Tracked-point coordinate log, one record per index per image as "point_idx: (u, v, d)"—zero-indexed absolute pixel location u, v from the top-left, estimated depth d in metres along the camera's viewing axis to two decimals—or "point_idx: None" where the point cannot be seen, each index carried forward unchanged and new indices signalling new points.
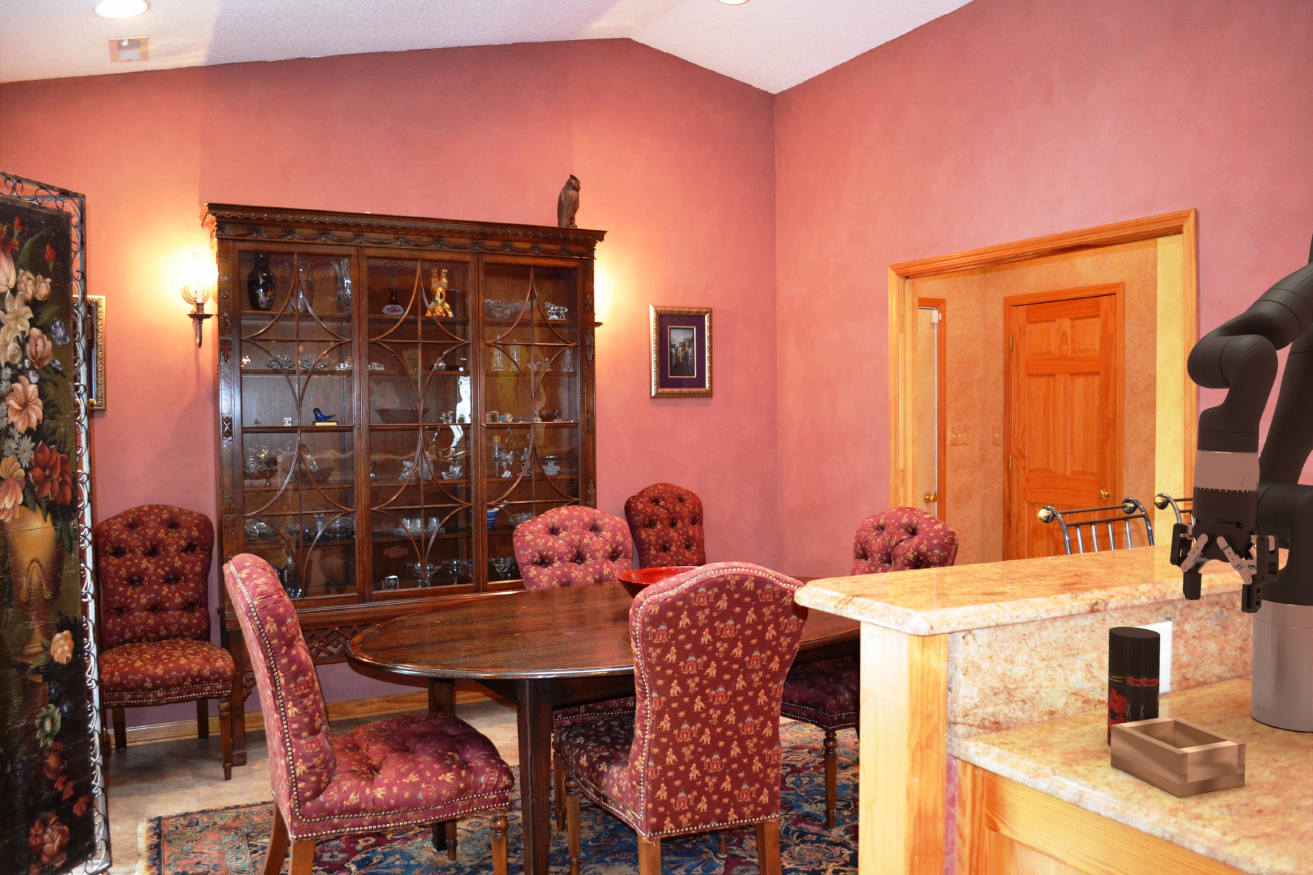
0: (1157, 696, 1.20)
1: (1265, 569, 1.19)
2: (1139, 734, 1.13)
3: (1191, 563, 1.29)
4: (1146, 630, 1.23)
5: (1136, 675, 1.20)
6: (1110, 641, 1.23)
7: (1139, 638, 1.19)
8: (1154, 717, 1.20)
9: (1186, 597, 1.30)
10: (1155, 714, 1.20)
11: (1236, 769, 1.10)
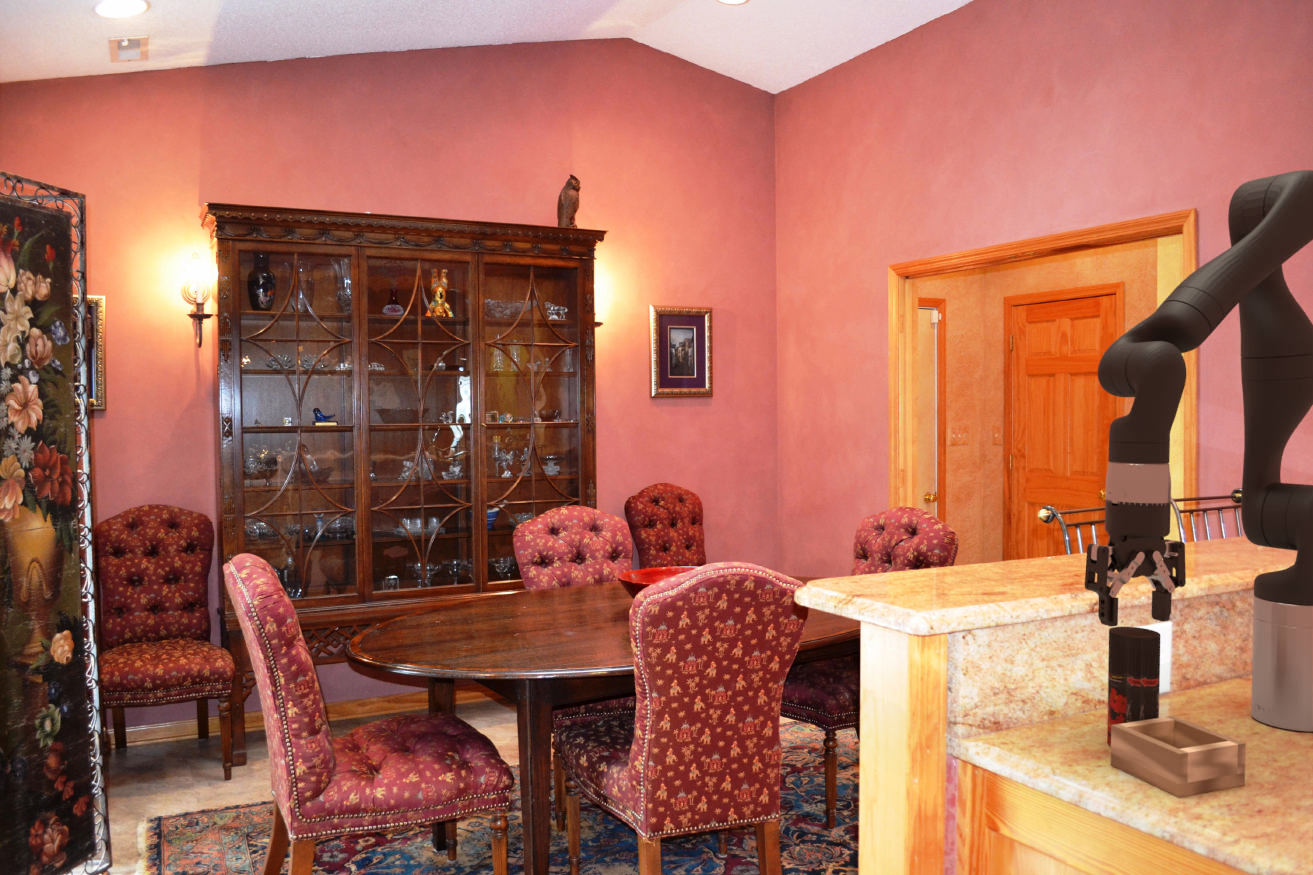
0: (1157, 696, 1.20)
1: (1185, 573, 1.23)
2: (1139, 734, 1.13)
3: (1120, 586, 1.20)
4: (1146, 630, 1.23)
5: (1136, 675, 1.20)
6: (1110, 641, 1.23)
7: (1139, 638, 1.19)
8: (1154, 717, 1.20)
9: (1114, 624, 1.20)
10: (1155, 714, 1.20)
11: (1236, 769, 1.10)
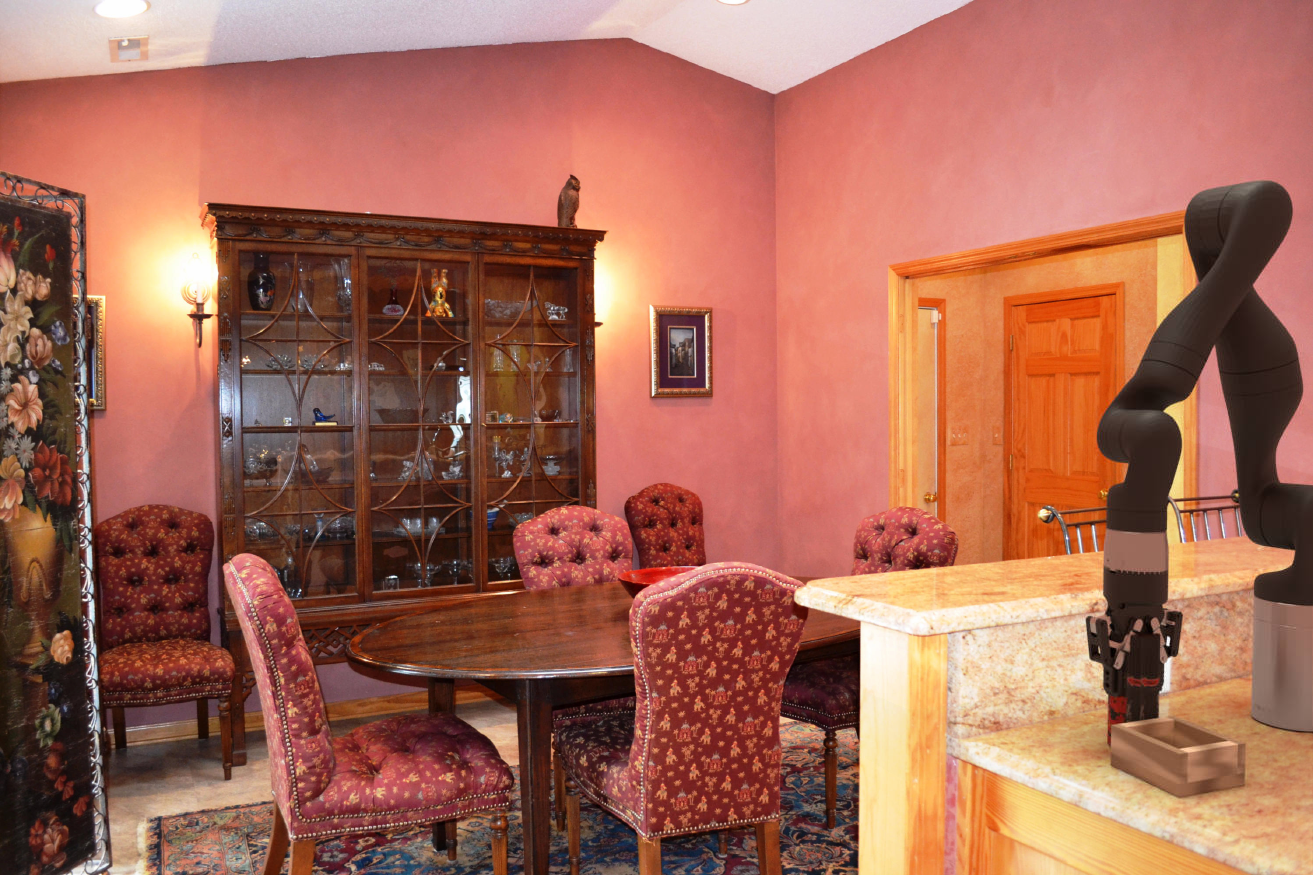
0: (1157, 696, 1.20)
1: None
2: (1139, 734, 1.13)
3: (1124, 656, 1.20)
4: None
5: (1136, 675, 1.20)
6: None
7: (1139, 638, 1.19)
8: (1154, 717, 1.20)
9: (1119, 695, 1.20)
10: (1156, 714, 1.20)
11: (1236, 769, 1.10)
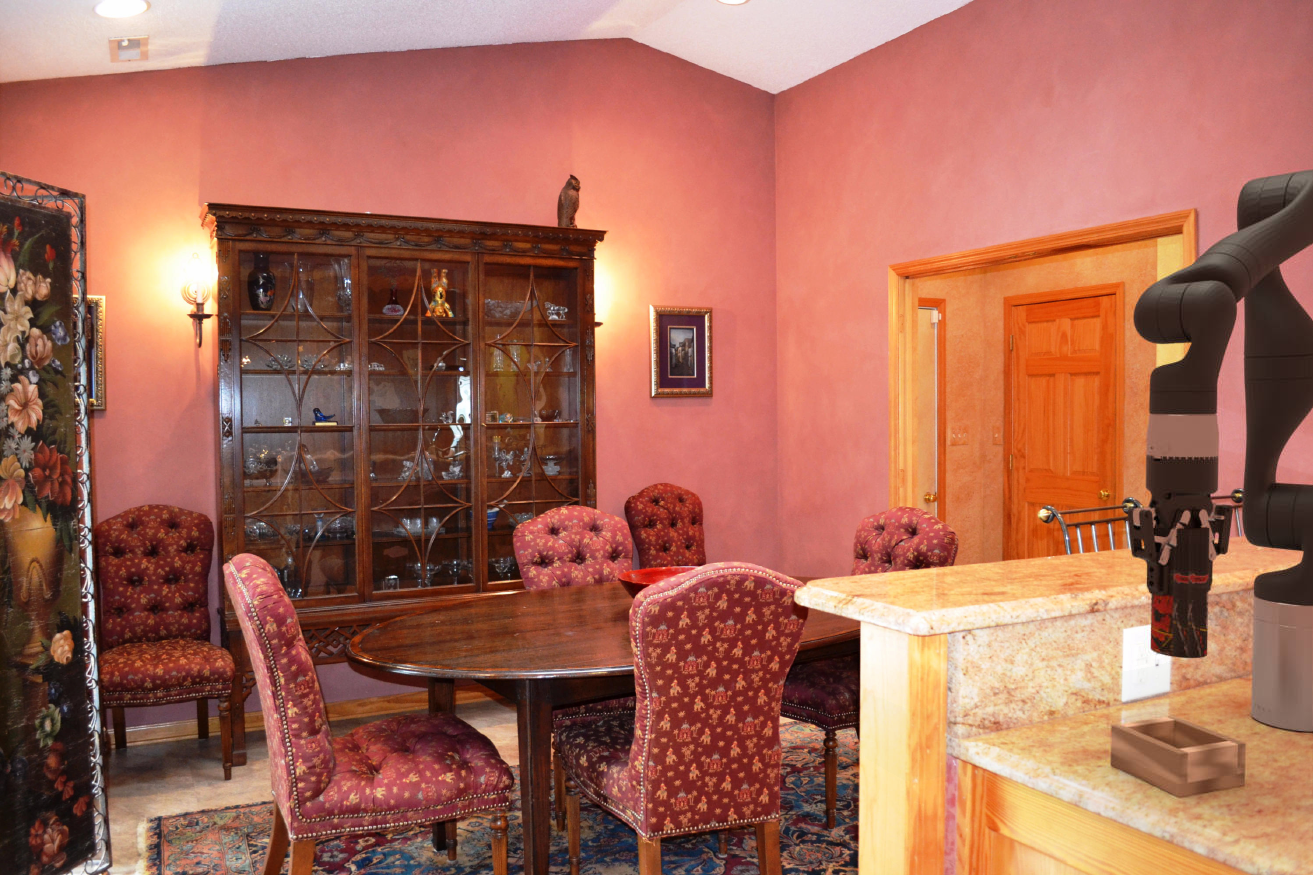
0: (1206, 595, 1.10)
1: (1228, 541, 1.13)
2: (1139, 734, 1.13)
3: (1170, 551, 1.10)
4: None
5: (1183, 571, 1.10)
6: None
7: (1187, 531, 1.10)
8: (1203, 617, 1.10)
9: (1165, 593, 1.11)
10: (1204, 614, 1.10)
11: (1236, 769, 1.10)
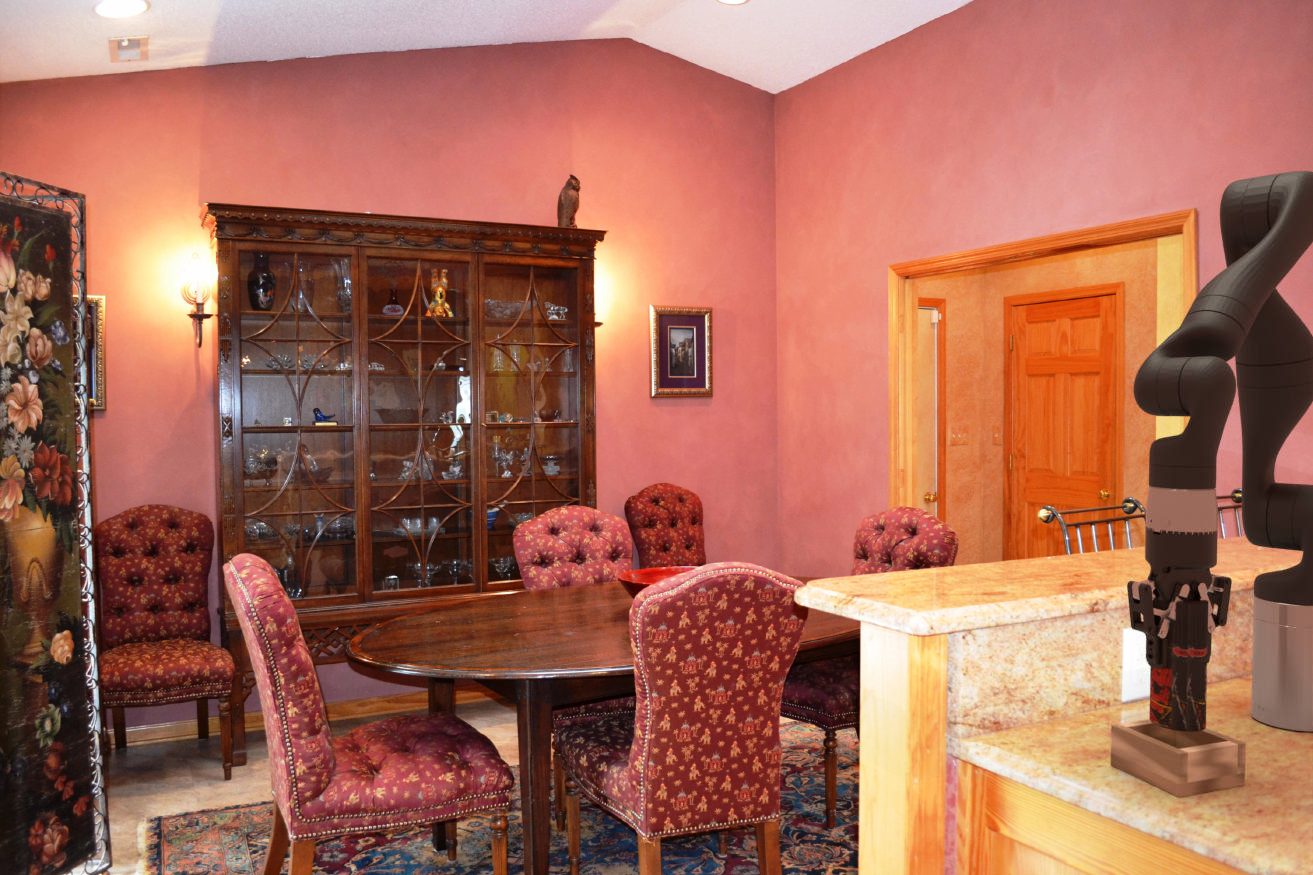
0: (1205, 668, 1.11)
1: (1227, 612, 1.14)
2: (1139, 734, 1.13)
3: (1169, 624, 1.11)
4: None
5: (1183, 645, 1.10)
6: None
7: (1186, 605, 1.10)
8: (1202, 691, 1.11)
9: (1164, 667, 1.11)
10: (1203, 688, 1.11)
11: (1236, 769, 1.10)
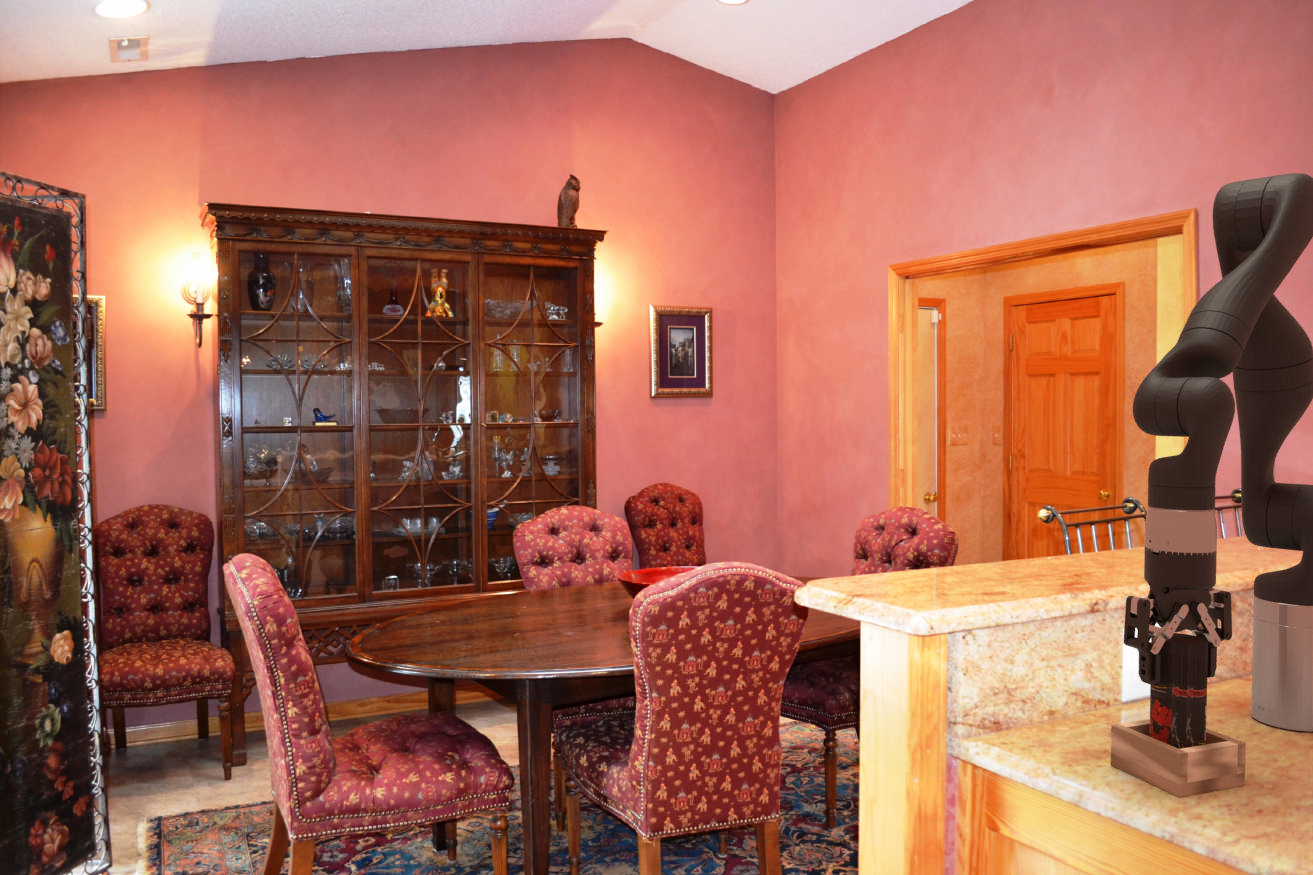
0: (1205, 708, 1.11)
1: (1231, 625, 1.14)
2: (1139, 734, 1.13)
3: (1163, 642, 1.11)
4: (1192, 636, 1.14)
5: (1182, 685, 1.10)
6: None
7: (1186, 645, 1.10)
8: (1201, 731, 1.11)
9: (1156, 683, 1.11)
10: (1203, 728, 1.11)
11: (1236, 769, 1.10)
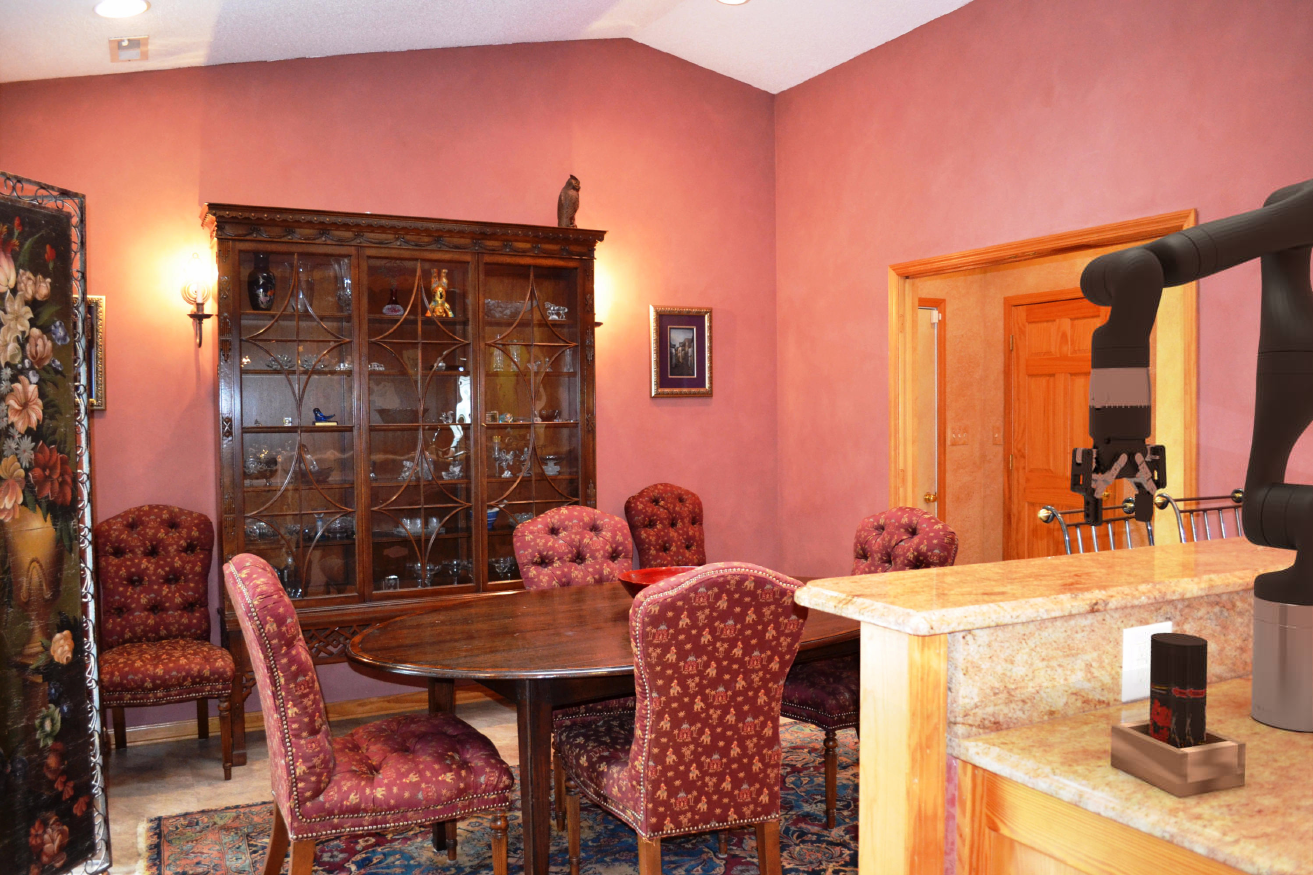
0: (1204, 708, 1.11)
1: (1166, 476, 1.27)
2: (1139, 734, 1.13)
3: (1105, 487, 1.24)
4: (1191, 636, 1.14)
5: (1182, 685, 1.10)
6: (1152, 648, 1.13)
7: (1185, 645, 1.10)
8: (1201, 731, 1.11)
9: (1099, 524, 1.24)
10: (1203, 728, 1.11)
11: (1236, 769, 1.10)
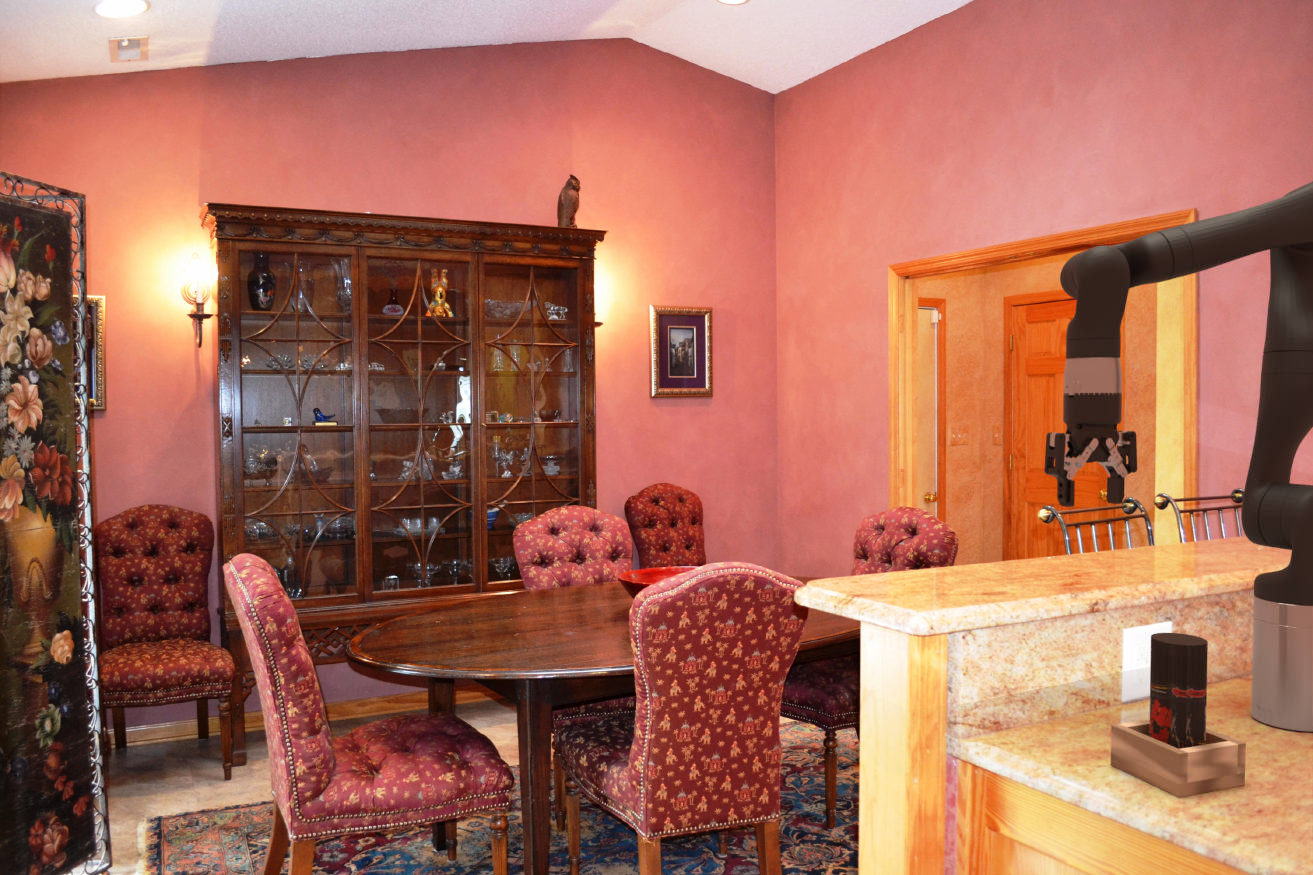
0: (1204, 708, 1.11)
1: None
2: (1139, 734, 1.13)
3: (1076, 470, 1.32)
4: (1191, 636, 1.14)
5: (1182, 685, 1.10)
6: (1152, 648, 1.13)
7: (1185, 645, 1.10)
8: (1201, 731, 1.11)
9: (1071, 504, 1.32)
10: (1203, 728, 1.11)
11: (1236, 769, 1.10)
